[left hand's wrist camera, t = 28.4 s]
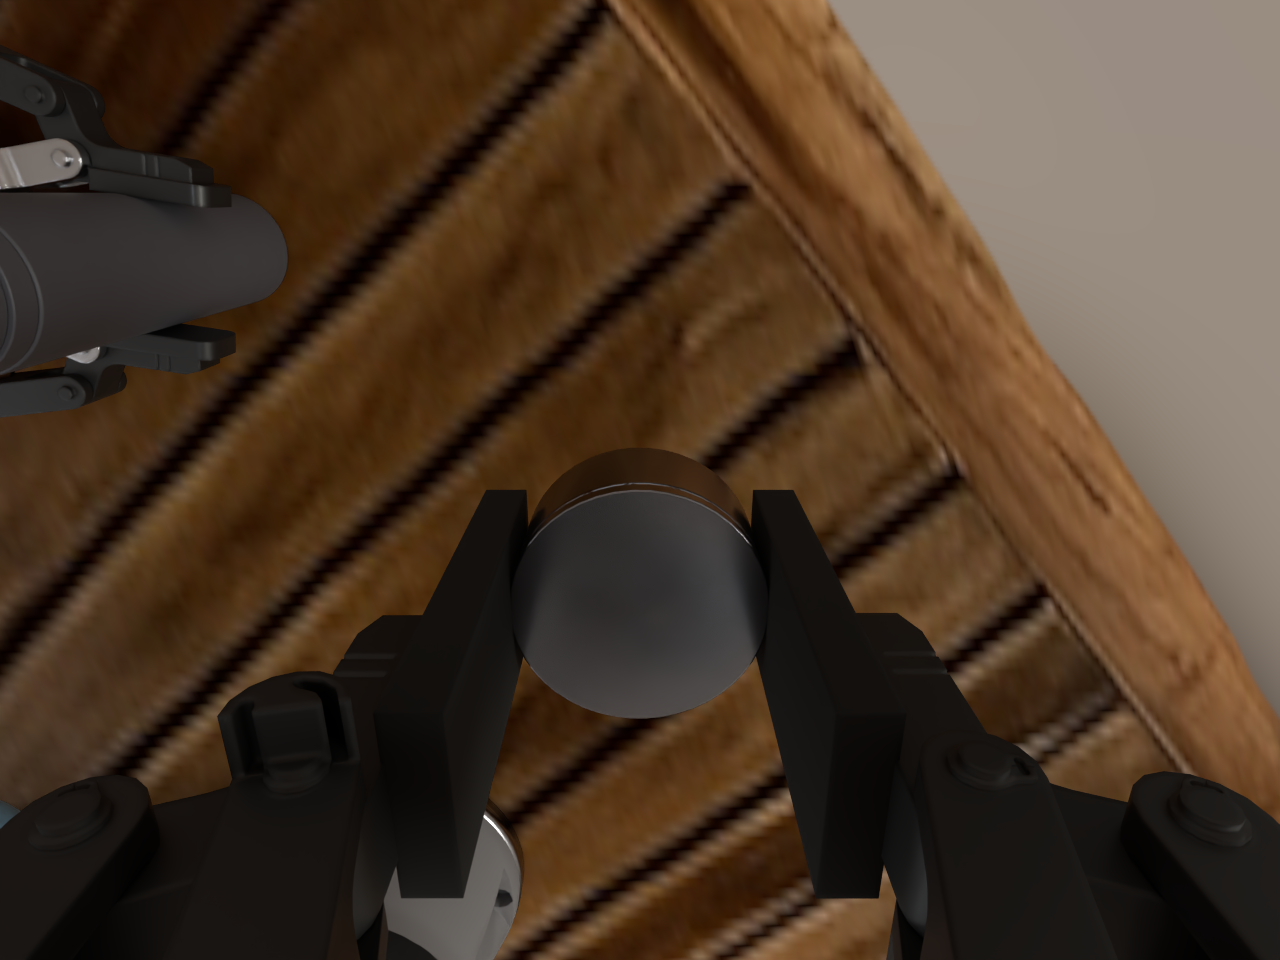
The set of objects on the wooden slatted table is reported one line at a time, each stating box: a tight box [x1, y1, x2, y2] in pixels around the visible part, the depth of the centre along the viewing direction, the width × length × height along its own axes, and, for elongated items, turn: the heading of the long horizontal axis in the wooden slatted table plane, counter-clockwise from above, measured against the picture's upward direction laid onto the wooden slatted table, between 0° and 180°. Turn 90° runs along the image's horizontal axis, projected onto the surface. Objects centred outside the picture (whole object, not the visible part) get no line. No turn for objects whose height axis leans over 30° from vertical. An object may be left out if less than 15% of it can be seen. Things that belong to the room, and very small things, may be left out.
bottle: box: [0, 193, 288, 375], centre depth 23 cm, size 5×5×21 cm
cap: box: [510, 448, 769, 718], centre depth 14 cm, size 4×4×2 cm
